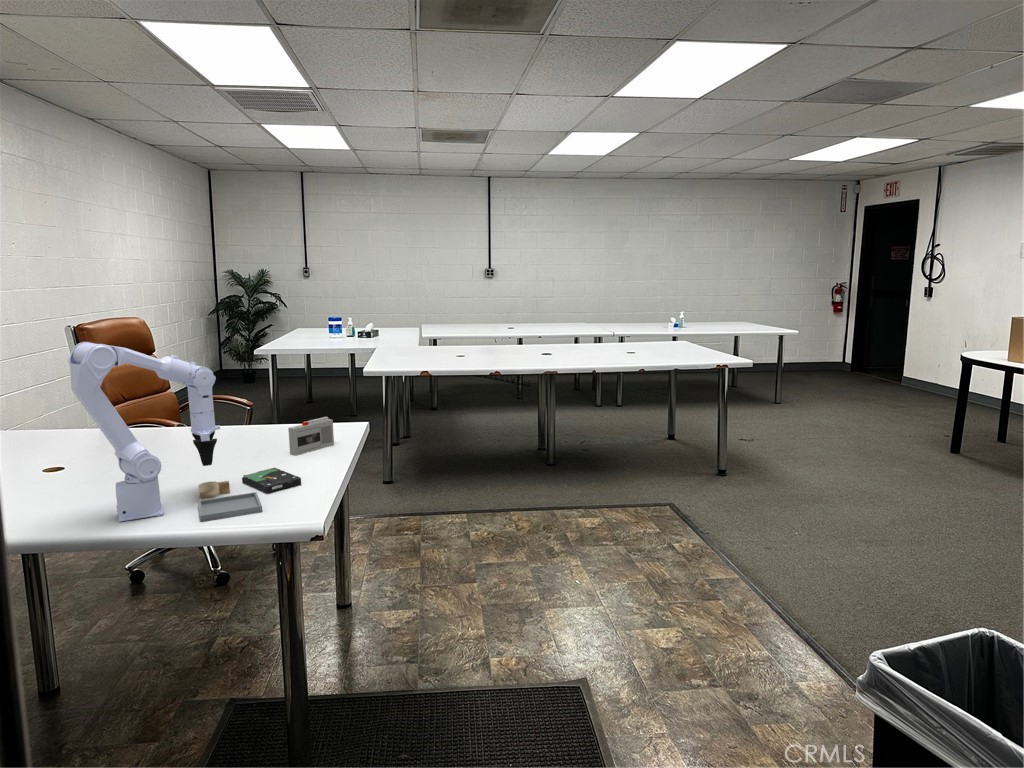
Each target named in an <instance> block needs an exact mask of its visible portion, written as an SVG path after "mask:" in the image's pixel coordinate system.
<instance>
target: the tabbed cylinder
mask: <svg viewBox="0 0 1024 768" xmlns="http://www.w3.org/2000/svg"><path fill="white" fill-rule="evenodd" d="M230 488H231V487H230V481H229V480H224V481H219V482H218V481H206V482H202V483H199V484H198V496H199V498H200V499H213V498H218V496H220V495H226V494H227V495H228V494H231V489H230Z"/></svg>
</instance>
